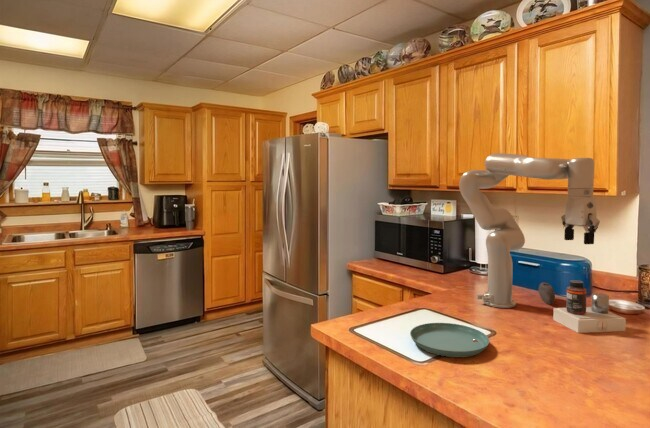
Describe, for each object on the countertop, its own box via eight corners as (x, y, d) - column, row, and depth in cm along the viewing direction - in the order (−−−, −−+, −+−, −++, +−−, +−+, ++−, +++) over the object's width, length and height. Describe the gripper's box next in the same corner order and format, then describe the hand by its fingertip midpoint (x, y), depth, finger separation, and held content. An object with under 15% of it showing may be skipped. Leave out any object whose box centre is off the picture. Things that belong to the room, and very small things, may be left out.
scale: (578, 333, 132) (579, 319, 131) (553, 319, 145) (553, 307, 144) (626, 331, 133) (626, 317, 132) (596, 317, 146) (597, 305, 145)
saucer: (501, 344, 125) (501, 334, 124) (468, 370, 108) (468, 359, 107) (433, 325, 142) (433, 316, 141) (395, 346, 125) (395, 336, 124)
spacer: (596, 313, 137) (596, 297, 136) (588, 309, 142) (588, 293, 141) (611, 313, 136) (612, 297, 136) (603, 309, 141) (603, 293, 140)
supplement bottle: (581, 310, 141) (582, 279, 140) (589, 315, 135) (590, 283, 134) (563, 309, 142) (564, 279, 141) (570, 314, 136) (571, 283, 135)
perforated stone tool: (557, 307, 159) (558, 291, 158) (543, 306, 161) (543, 289, 160) (550, 297, 173) (551, 282, 172) (537, 296, 175) (537, 281, 174)
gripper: (610, 193, 127) (608, 245, 128) (573, 192, 144) (571, 238, 145) (588, 194, 126) (586, 246, 127) (553, 193, 143) (552, 238, 145)
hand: (578, 241), depth 136 cm, fingers open, 9 cm apart
